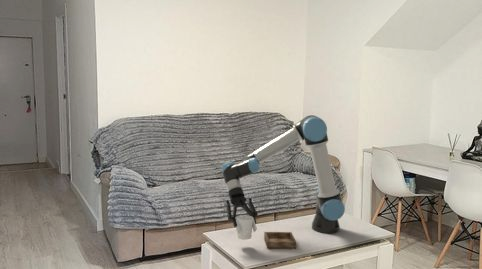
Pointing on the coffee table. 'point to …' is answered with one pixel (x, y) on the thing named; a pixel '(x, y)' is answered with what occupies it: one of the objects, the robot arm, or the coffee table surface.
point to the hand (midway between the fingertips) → (247, 231)
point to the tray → (279, 240)
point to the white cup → (245, 226)
